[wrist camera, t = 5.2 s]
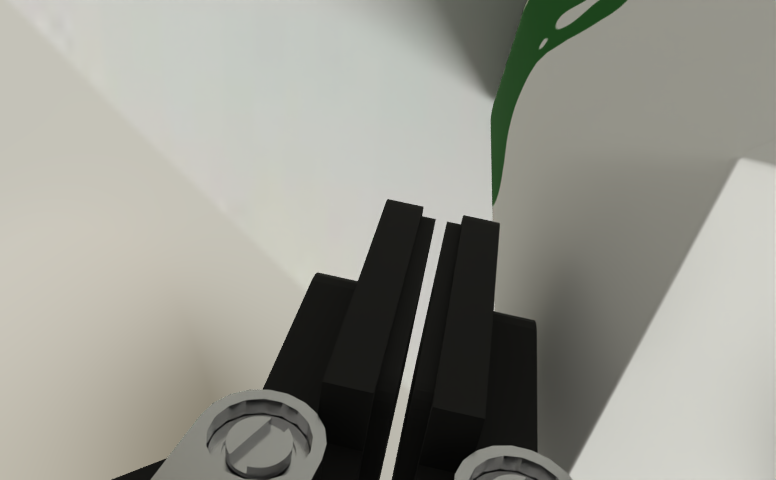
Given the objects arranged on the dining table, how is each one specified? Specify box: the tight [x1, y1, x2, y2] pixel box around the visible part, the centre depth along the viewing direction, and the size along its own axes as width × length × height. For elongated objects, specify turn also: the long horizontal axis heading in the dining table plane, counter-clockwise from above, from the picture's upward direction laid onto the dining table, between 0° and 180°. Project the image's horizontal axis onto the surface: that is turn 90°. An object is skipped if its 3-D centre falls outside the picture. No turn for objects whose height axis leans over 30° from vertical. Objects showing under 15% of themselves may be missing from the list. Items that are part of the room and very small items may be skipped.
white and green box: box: [491, 0, 776, 480], centre depth 15 cm, size 9×9×20 cm
